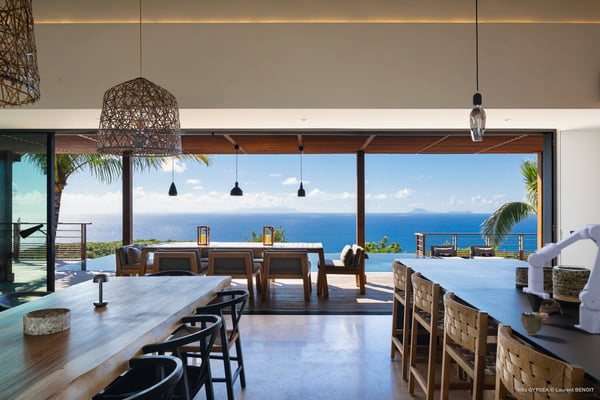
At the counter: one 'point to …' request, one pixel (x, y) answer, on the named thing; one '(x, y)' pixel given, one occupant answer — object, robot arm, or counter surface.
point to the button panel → (542, 321)
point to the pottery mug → (550, 306)
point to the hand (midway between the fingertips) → (535, 311)
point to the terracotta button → (544, 315)
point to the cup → (532, 323)
